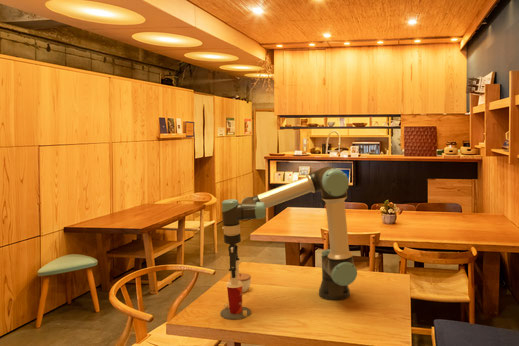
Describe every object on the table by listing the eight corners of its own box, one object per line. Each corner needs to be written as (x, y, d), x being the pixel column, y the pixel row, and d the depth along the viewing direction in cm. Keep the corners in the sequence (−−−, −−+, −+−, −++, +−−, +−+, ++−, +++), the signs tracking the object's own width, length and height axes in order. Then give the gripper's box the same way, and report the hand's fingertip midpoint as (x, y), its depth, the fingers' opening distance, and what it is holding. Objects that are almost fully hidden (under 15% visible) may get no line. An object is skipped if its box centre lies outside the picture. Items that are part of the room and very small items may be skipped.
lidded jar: (252, 287, 269) (251, 269, 268) (250, 294, 258) (249, 276, 257) (232, 287, 270) (231, 270, 269) (229, 294, 259) (228, 276, 258)
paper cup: (245, 313, 231) (244, 283, 229) (229, 315, 229) (227, 285, 227) (242, 307, 238) (240, 278, 237) (225, 309, 236) (224, 280, 235)
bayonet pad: (251, 307, 240) (251, 301, 240) (250, 319, 226) (250, 312, 226) (221, 308, 240) (221, 302, 240) (219, 320, 226) (218, 314, 226)
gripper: (225, 228, 242) (229, 271, 244) (221, 241, 217) (225, 289, 219) (241, 227, 242) (244, 270, 244) (238, 240, 217) (242, 288, 219)
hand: (235, 279), depth 232 cm, fingers open, 13 cm apart
